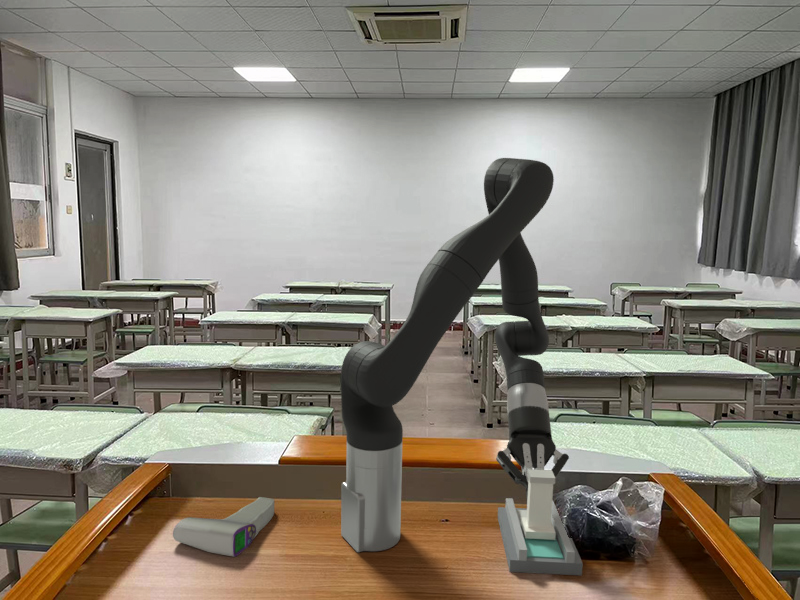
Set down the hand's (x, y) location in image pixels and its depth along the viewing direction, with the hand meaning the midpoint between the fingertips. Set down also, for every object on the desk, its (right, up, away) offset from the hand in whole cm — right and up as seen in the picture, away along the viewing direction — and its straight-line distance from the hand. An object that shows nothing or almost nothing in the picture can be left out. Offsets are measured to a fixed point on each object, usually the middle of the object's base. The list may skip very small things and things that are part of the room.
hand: (536, 508), depth 97 cm
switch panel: (0, -6, 0) cm, 6 cm away
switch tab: (0, -3, -1) cm, 4 cm away
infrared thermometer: (-52, -5, +3) cm, 53 cm away
